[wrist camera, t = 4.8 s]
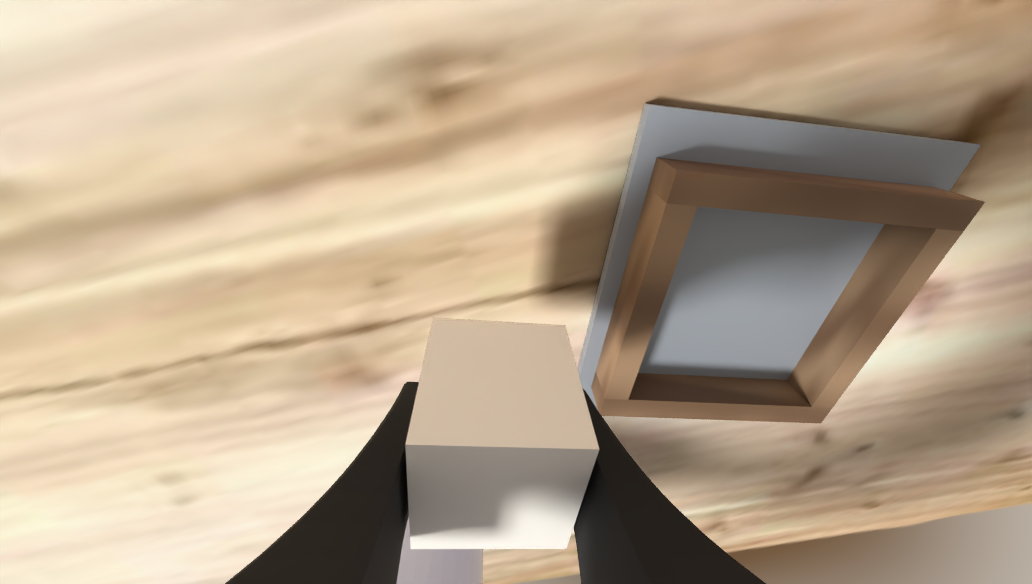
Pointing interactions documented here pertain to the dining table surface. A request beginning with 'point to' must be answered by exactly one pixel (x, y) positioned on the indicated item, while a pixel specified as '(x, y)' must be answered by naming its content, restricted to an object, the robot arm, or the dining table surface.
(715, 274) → the base board
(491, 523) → the cream block
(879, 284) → the walnut frame
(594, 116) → the dining table surface
